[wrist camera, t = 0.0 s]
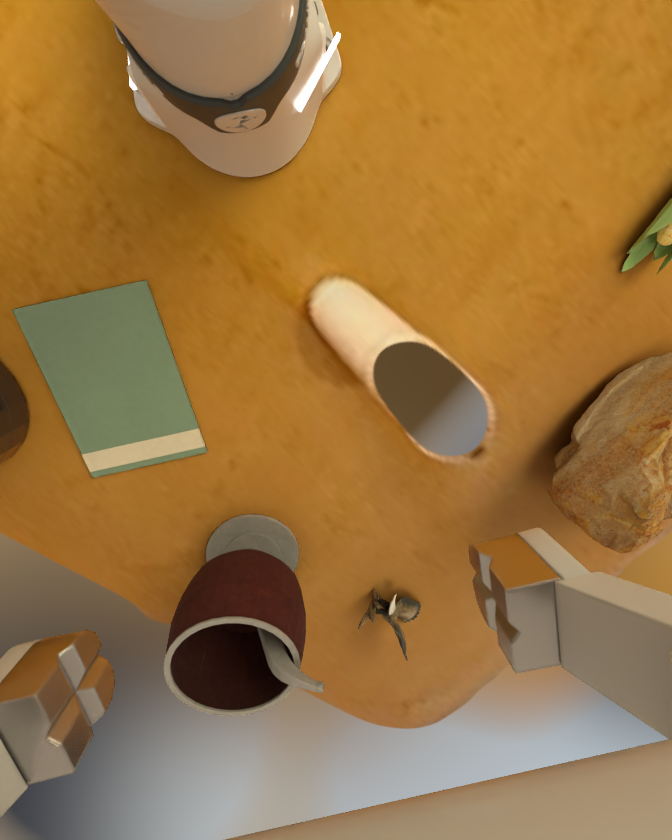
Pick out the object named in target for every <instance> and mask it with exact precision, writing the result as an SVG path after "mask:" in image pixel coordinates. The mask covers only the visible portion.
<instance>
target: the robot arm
mask: <svg viewBox="0 0 672 840" xmlns="http://www.w3.org/2000/svg"><path fill="white" fill-rule="evenodd" d="M95 2H96V3H97V4H98V5H99V6H100V7H101V8H102V9H103V10H104V12H105V13H106V14H107V15H108V16H109V17H110V18H111V20H112V21H113V22H114V28H115V32H116V35H117V37H118V40H119V41H120V43H122V44H124V46H125V47H126V49H127V54H128V66H127V72H128V74H129V79H130V87H131V88H132V89H133V94H134V101H135V105H136V108H137V110H138V112H139V113H140V115H141V116H142V118H143V119H144V120H146V121H147V122H148V123H150V124H151V125H153V126H155V127H157V128H159V129H161V130H163V131H166V132H168V133H170V134H172V135H173V136H175V137H176V138H177V139H178V140H179V141H180V142H181V143H182V144H183V145H184V146H185V147H186V148H187V149H188V150H189V151H190V152H191V153H192V154H193V155H194V156H195V157H196V158H198V159H199V160H200V161H201V162H203V163H204V164H206V165H207V166H209V167H211V168H213V169H215V170H217V171H219V172H222V173H224V174H227V175H232V176H237V177H257V176H262V175H265V174H268V173H271V172H273V171H276V170H277V169H279V168H281V167H282V166H284V165H285V164H287V163H288V162H289V161H290V160H291V159H292V158H294V157H295V155H296V154H297V153H298V152H299V151H300V149H301V148H302V147H303V145H304V144H305V142H306V140H307V138H308V137H309V134H310V132H311V130H312V127H313V125H314V121H315V118H316V115H317V112H318V109H319V107H320V104H321V102H322V100H323V99H324V98H325V97H326V96H327V95H328V94H329V92H330V91H331V90H332V89H333V87H334V86H335V85H336V83H337V82H338V80H339V78H340V75H341V58H340V55H339V52H338V49H337V44H338V42H339V40H340V36H341V34H339V33H338V32H337V34H336V35H335V37H333V34H332V31H331V28H330V24H329V21H328V18H327V15H326V12H325V9H324V6H323V3H322V0H95ZM326 49H327V52H326ZM469 558H470V563H471V564H472V566H473V568H474V569H475V571H476V572H477V573H476V575H475V576H474V578H473V585H474V591H475V595H476V599H477V602H478V605H479V608H480V611H481V613H482V615H483V617H484V619H485V621H486V623H487V625H488V626H489V627H490V628H492V629H493V630H495V631H497V635H498V642H499V646H500V647H501V649H502V651H503V653H504V654H505V656H506V658H507V660H508V661H509V663H510V665H511V666H512V668H513V670H514V672H515V673H520V672H526V671H531V670H536V669H541V668H546V667H552V666H557V665H561V666H562V668H564V669H565V670H567V671H568V672H570V673H571V674H573V675H574V676H576V677H577V678H579V679H580V680H582V681H583V682H585V683H586V684H588V685H589V686H590V687H592V688H594V689H595V690H597V691H598V692H599V693H601V694H602V695H604V696H606V697H607V698H609V699H610V700H612V701H613V702H615V703H616V704H617V705H619V706H620V707H622V708H623V709H625V710H626V711H628V712H630V713H631V714H632V715H634V716H635V717H637V718H638V719H640V720H641V721H643V722H644V723H646V724H647V725H649V726H650V727H652V728H653V729H655V730H656V731H658V732H659V733H661V734H662V735H664V736H665V737H667V738H668V739H669V740H664V741H660V742H656V743H651V744H647V745H642V746H638V747H633V748H629V749H625V750H620V751H615V752H611V753H606V754H602V755H597V756H593V757H589V758H584V759H580V760H575V761H571V762H567V763H562V764H558V765H553V766H549V767H544V768H540V769H535V770H531V771H526V772H522V773H518V774H513V775H509V776H504V777H500V778H495V779H491V780H487V781H482V782H478V783H473V784H469V785H464V786H460V787H456V788H451V789H447V790H442V791H438V792H433V793H429V794H425V795H420V796H416V797H411V798H407V799H402V800H398V801H393V802H389V803H385V804H380V805H376V806H371V807H367V808H362V809H358V810H354V811H349V812H345V813H340V814H336V815H331V816H327V817H323V818H318V819H314V820H310V821H305V822H301V823H296V824H292V825H287V826H283V827H278V828H274V829H270V830H266V831H261V832H256V833H252V834H248V835H243V836H238V837H234V838H230V839H225V840H672V595H669V594H666V593H663V592H659V591H657V590H654V589H651V588H647V587H645V586H641V585H639V584H636V583H633V582H629V581H626V580H623V579H620V578H617V577H614V576H611V575H608V574H605V573H602V572H599V571H597V572H592V573H590V572H589V571H588V570H587V569H586V568H585V567H584V566H583V565H582V564H581V563H579V562H578V561H577V560H576V559H575V558H574V557H573V556H572V555H571V554H569V553H568V552H567V551H566V550H565V549H564V548H563V547H562V546H561V545H559V544H558V543H557V542H556V541H555V540H554V539H553V538H552V537H551V536H550V535H548V534H547V533H546V532H545V531H544V530H543V529H540V528H534V529H530V530H526V531H522V532H519V533H515V534H513V535H509V536H505V537H501V538H496V539H492V540H488V541H484V542H480V543H475V544H471V545H469ZM101 645H102V644H101V642H100V640H99V638H98V636H97V635H96V632H93V631H90V630H84V631H80V632H74V633H70V634H64V635H59V636H54V637H50V638H44V639H42V640H35V641H31V642H26V643H22V644H19V645H17V646H14V647H12V648H10V649H9V650H8V651H7V652H6V654H5V655H4V656H3V657H2V658H1V659H0V817H1V816H2V815H3V814H4V813H5V811H7V810H8V809H9V807H10V806H11V805H12V804H13V803H14V802H15V801H16V800H17V799H18V798H19V797H20V795H21V794H22V793H23V792H24V791H25V790H26V789H27V788H28V786H27V785H29V784H33V783H36V782H40V781H44V780H48V779H52V778H56V777H59V776H63V775H67V774H71V773H74V772H75V769H76V768H77V766H78V764H79V762H80V760H81V758H82V757H83V755H84V753H85V751H86V749H87V747H88V745H89V743H90V741H91V739H92V737H93V731H92V725H93V724H94V723H95V722H96V721H97V720H98V719H100V718H101V717H102V715H104V714H105V712H106V710H107V708H108V706H109V704H110V702H111V700H112V697H113V691H114V685H115V679H114V672H113V669H112V667H111V664H110V662H109V661H108V660H106V659H105V658H103V657H102V656H100V655H98V654H99V651H100V648H101Z"/></svg>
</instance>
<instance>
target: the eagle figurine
mask: <svg viewBox="0 0 672 840" xmlns="http://www.w3.org/2000/svg"><path fill="white" fill-rule="evenodd" d="M396 595H397V594H395V595H394V597H393V600H392V601H391V603H388V602H387V601H385V600H383V599H380V598H379V595H377V594H376V592H375V590H374V589H373V596H372V600H371V603H370V605H369V608H368V610H367V611H366V613H365V615H364V617H363V618H362V620H361V622H360V624H359V627H358V629H361V627H362V625H363V624H364V623H365V621H366V620H367V618H368V616H369V619H371V620H372V622H374V618H375V613H376V614H381V616H382V617H383V618H384V619H385V620H386V621H388V622H389V623H390V624H391V626H392V627H393V629H394V631H395V633H396V635H397V637H398V639H399V643H400V646H401V648H402V650H403V654H404V656H405V658H406V660H407V656H406V641H405V636H404V633H403V630H402V629H401V627H400V625H399V623H398V621H397V618H400V619H402V620H403V622H404V623H406V622H407V621H410V620H414V618H416V617H417V614H419V610H420V607H421V606H420V603H419V602H416V601H413V600H410V598H408V597H402V598H401V599H400V600H399V601H398V603H397V602H396V603H395V599H396ZM378 602H379V603H380V604H381V605H382V606H383V607H384V609H381V606H379V605H378Z"/></svg>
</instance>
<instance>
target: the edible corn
mask: <svg viewBox="0 0 672 840" xmlns="http://www.w3.org/2000/svg"><path fill="white" fill-rule="evenodd" d="M655 248H656V249H655ZM654 249H655V251H654V261H655V260H657V259H659V258H661V257H664V256H666V255H667V254H668V255H667V257H666V258H665V260H664V262H663V263H662V265H661V267H660V268H659V270H658V272H657V274H658V273H659V272H660V271H661V270H662V269H663V268H664V267H665V266H666V265H667V264H668V262H669V261H670V260H671V259H672V197H671V198H670V199H669V201H668V202H667V203H666V205H665V206H664V208H663V209H662V210H661V211H660V213H659V214H658V215H657V217H656V218H655V219H654V220H653V222H652V223H651V224H650V225H649V227H648V228H647V229H646V230H645V231H644V233H643V234H642V235H641V236H640V238H639V239H638V240H637V241H636V242H635V244H634V245H633V246H632V247H631V248H630V250H629V251H628V252H627V253H626V254H628V253H631V254H630V255H629V257H628V258H627V259H626V261H625V262H624V266H623V269H622V272H624V271H627V270H629V269H631V268H632V267H634V266H635V265H636V264H637V263H638V262H640V261H641V260H642V259H643V258H644V257H646V256H647V255H648V254H649V253H650V252H651V251H653V250H654ZM622 272H621V273H622Z"/></svg>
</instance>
